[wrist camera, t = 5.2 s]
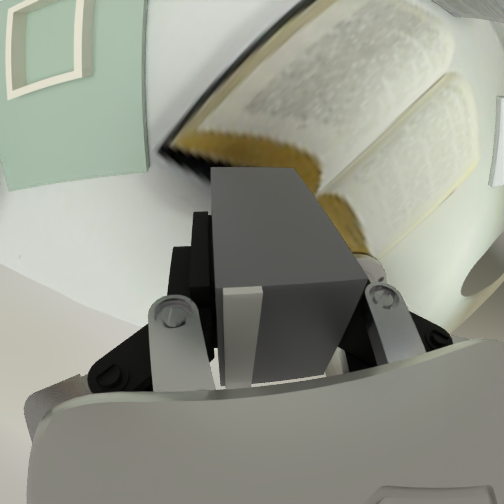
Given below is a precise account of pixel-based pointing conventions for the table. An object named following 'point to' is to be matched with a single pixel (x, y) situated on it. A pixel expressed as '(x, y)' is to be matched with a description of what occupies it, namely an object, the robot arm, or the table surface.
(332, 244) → the plug
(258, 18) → the table surface
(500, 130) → the external hard drive
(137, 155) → the board
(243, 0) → the table surface
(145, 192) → the table surface
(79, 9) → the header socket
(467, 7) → the light bulb box
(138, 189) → the table surface
